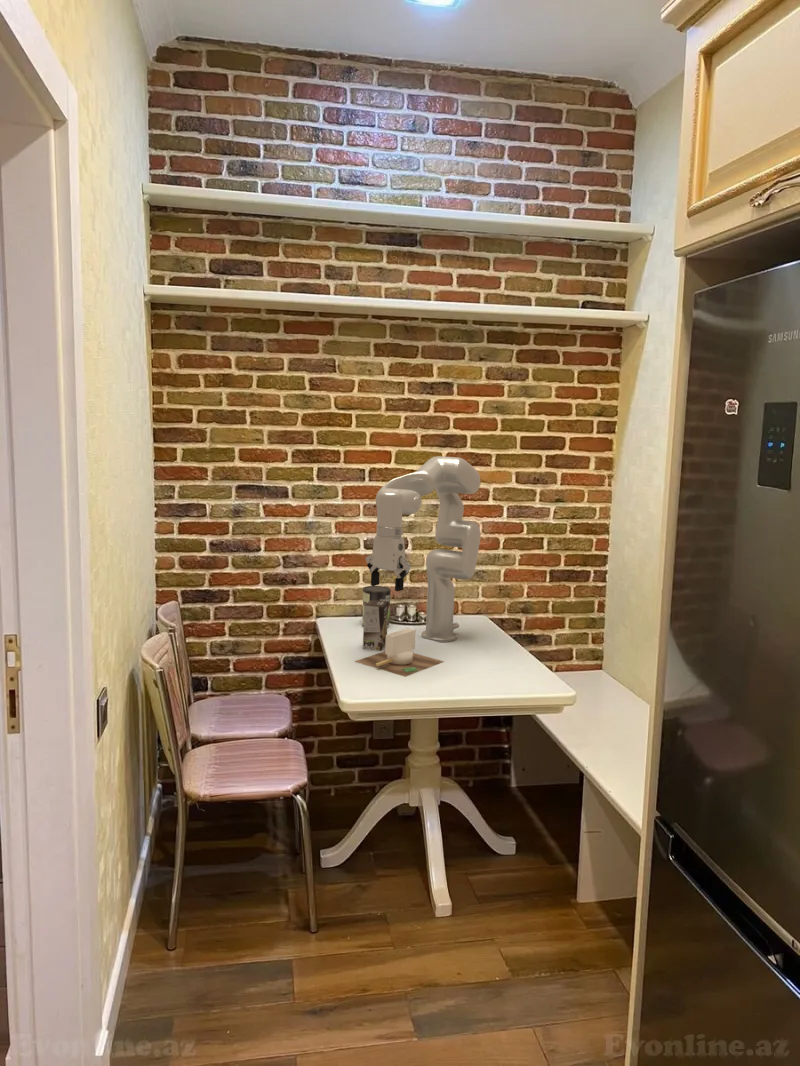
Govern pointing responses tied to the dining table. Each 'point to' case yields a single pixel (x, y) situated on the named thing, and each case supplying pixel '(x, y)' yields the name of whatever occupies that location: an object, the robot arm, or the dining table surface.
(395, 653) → the dial knob
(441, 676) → the dining table surface
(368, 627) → the coffee box
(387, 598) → the coffee can
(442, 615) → the robot arm
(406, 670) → the dial board
